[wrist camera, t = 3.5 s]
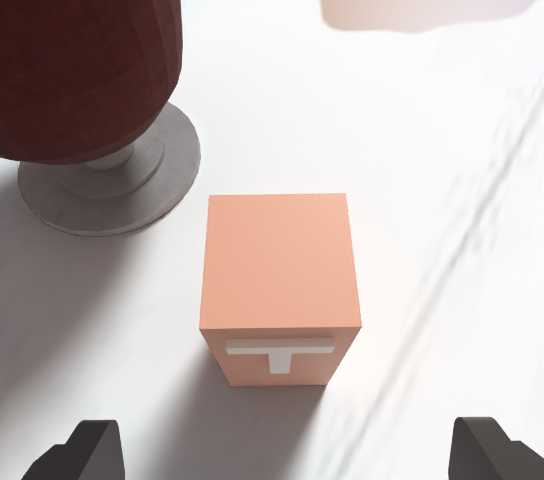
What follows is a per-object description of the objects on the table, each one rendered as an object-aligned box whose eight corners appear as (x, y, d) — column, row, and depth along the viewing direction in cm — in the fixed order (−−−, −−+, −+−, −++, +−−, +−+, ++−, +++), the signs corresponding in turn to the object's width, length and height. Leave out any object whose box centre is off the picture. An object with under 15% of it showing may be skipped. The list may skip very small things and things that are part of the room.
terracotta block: (230, 392, 21) (198, 338, 12) (234, 295, 24) (209, 195, 15) (327, 390, 21) (363, 336, 12) (320, 294, 24) (345, 193, 15)
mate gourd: (-1, 125, 31) (-370, -333, 13) (177, 72, 33) (67, -366, 16) (29, 305, 24) (-675, -161, 6) (251, 220, 26) (201, -275, 9)
